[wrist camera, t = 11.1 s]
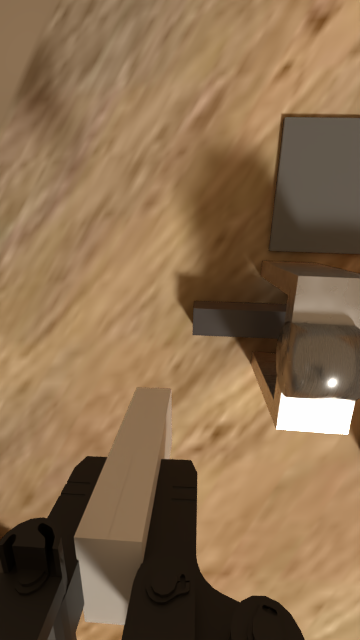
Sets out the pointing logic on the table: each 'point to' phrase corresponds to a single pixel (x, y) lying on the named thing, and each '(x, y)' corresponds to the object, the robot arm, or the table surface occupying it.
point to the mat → (318, 187)
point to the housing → (313, 349)
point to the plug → (238, 319)
